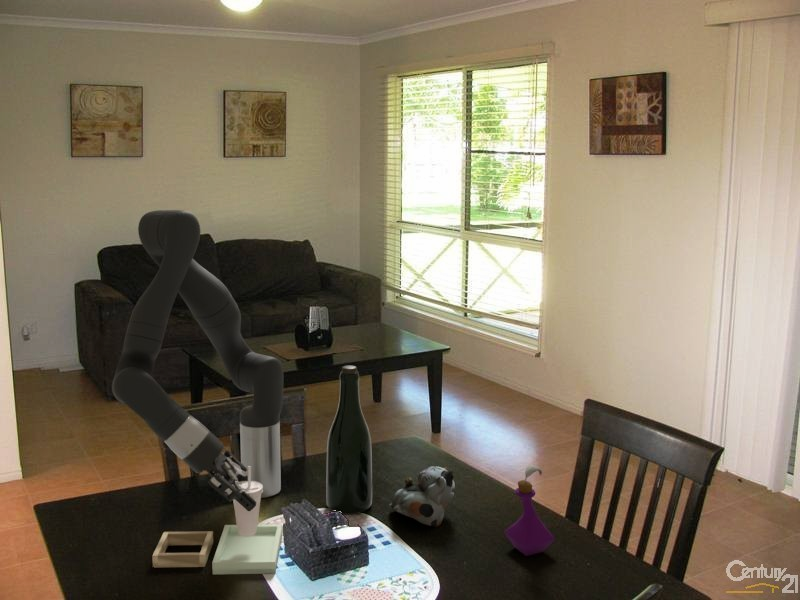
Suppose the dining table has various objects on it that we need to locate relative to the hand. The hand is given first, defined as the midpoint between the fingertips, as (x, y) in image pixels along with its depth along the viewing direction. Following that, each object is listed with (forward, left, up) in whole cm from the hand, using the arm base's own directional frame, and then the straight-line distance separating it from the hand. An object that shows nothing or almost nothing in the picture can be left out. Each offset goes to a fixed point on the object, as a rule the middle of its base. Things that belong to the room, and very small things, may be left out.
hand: (255, 500), depth 165 cm
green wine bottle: (-22, +19, -12) cm, 31 cm away
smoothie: (0, -2, -7) cm, 7 cm away
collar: (0, -14, -12) cm, 18 cm away
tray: (0, -1, -12) cm, 12 cm away
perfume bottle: (0, +56, -12) cm, 57 cm away
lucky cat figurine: (-16, +35, -12) cm, 40 cm away
